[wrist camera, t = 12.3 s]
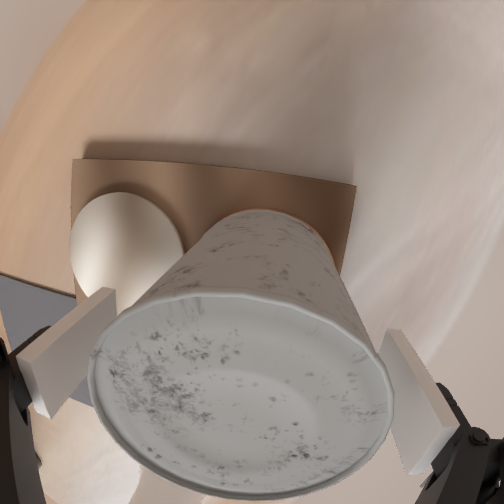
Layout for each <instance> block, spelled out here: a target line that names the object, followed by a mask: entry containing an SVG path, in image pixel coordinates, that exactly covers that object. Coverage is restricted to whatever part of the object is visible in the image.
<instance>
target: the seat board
mask: <svg viewBox="0 0 504 504" xmlns="http://www.w3.org/2000/svg"><path fill="white" fill-rule="evenodd" d="M356 187H357V186H353V185H349V184H343V183H338V182H332V181H326V180H320V179H314V178H308V177H301V176H295V175H288V174H281V173H274V172H266V171H258V170H250V169H242V168H233V167H223V166H213V165H202V164H190V163H177V162H162V161H144V160H119V159H73V164H72V183H71V235H70V243H69V252H70V260H71V265H72V269H73V272H74V283H75V293H76V301H77V306H78V305H79V304H80V303H82V302H83V301H84V300H86V299H87V298H88V297H90V296H91V295H92V294H93V293H95V292H96V291H97V290H99V289H100V288H101V287H107V288H111V289H116V306H117V316H118V315H119V314H120V313H121V312H122V311H123V310H124V309H127V308H129V307H131V306H132V305H133V304H134V303H135V302H136V301H137V300H138V299H139V298H140V297H141V296H142V295H143V294H144V293H145V292H146V291H147V290H148V289H149V288H150V287H151V286H152V285H153V284H154V283H155V282H156V281H157V280H158V279H159V278H160V277H162V276H163V275H164V274H165V273H166V272H167V271H168V270H169V269H170V268H171V267H172V266H173V265H174V264H175V263H176V262H177V261H178V260H179V259H180V258H181V257H182V256H183V255H185V254H186V253H187V252H188V251H189V250H190V249H191V248H192V247H193V246H194V245H195V244H196V243H197V242H198V241H199V240H200V239H201V238H202V236H203V235H204V234H205V233H206V232H207V231H208V230H209V229H210V228H212V227H213V226H214V225H215V224H216V223H217V222H219V221H221V220H223V219H225V218H227V217H229V216H231V215H233V214H237V213H241V212H245V211H249V210H270V211H275V212H280V213H285V214H287V215H289V216H291V217H293V218H296V219H298V220H300V221H302V222H303V223H304V224H305V225H307V226H308V227H309V228H311V229H312V230H313V231H314V232H315V233H316V234H317V235H318V236H319V238H320V239H321V240H322V242H323V243H324V244H325V245H326V247H327V250H328V252H329V254H330V256H331V258H332V261H333V264H334V266H335V268H336V270H337V272H338V274H339V276H340V272H341V267H342V263H343V258H344V253H345V248H346V243H347V238H348V233H349V228H350V222H351V217H352V211H353V205H354V199H355V193H356Z"/></svg>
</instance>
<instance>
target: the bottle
mask: <svg viewBox="0 0 504 504" xmlns="http://www.w3.org/2000/svg"><path fill="white" fill-rule="evenodd" d="M139 472H140V478H139V484H138V486H137V489H136V491H135V493H134V495H133V497H132V498H131V500H130V502H129V504H201V502H202V501H203V499H204V497H205V496H206V495H203V494H200V493H197V492H194V491H191V490H188V489H185V488H183V487H180V486H177V485H175V484H173V483H171V482H169V481H167V480H165V479H163V478H161V477H159V476H157V475H155V474H154V473H152V472H151V471H149V470H148V469H146V468H145V467H143V466H142V465H141V464H140V469H139Z"/></svg>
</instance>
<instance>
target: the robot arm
mask: <svg viewBox="0 0 504 504" xmlns="http://www.w3.org/2000/svg"><path fill="white" fill-rule="evenodd" d="M116 317H117V306H116V289H111V288H107V287H101V288H100V289H99V290H97V291H96V292H95V293H93V294H92V295H91V296H90V297H88V298H87V299H86V300H84V301H83V302H82V303H80V304H79V305H78V306H77V307H75V308H74V309H73V310H71V311H70V312H69V313H68V314H66V315H65V316H64V317H63V318H61V319H60V320H59V321H58V322H56V323H55V324H54V325H53V326H50V325H49V326H47V327H44V328H42V329H39V330H38V331H37V332H36V333H34V334H33V335H32V337H29V338H28V339H27V340H26V341H24V342H23V343H22V344H21V345H20V346H18V347H17V348H16V349H15V350H13V351H12V352H11V353H10V354H9V355H8V353H7V350H6V347H5V343H4V340H3V339H2V338H0V504H46V501H45V497H44V493H43V489H42V485H41V481H40V476H39V471H38V470H39V468H40V467H41V462H40V460H39V458H38V457H37V455H36V454H35V449H34V443H33V436H32V428H31V419H30V412H29V409H28V406H29V404H30V403H31V402H33V405H34V407H35V410H36V412H37V413H39V414H41V415H43V416H45V417H47V418H49V419H52V417H53V416H54V415H55V414H56V412H57V411H58V410H59V409H60V407H61V406H62V405H63V404H64V402H65V401H66V400H67V399H68V397H69V396H70V395H71V394H72V393H73V391H74V390H75V389H76V388H77V386H78V385H79V384H80V383H81V382H82V380H83V379H84V378H85V377H86V376H87V374H88V365H89V357H90V353H91V351H92V349H93V347H94V345H95V343H96V341H97V339H98V337H99V335H100V333H101V331H102V330H103V329H104V328H105V327H107V326H108V325H109V324H110V323H111V322H112V321H113V320H114V319H115V318H116ZM378 355H379V357H380V358H381V359H382V360H383V362H384V363H385V365H386V368H387V371H388V373H389V377H390V380H391V383H392V386H393V389H394V392H395V398H394V418H393V421H392V424H391V426H390V428H391V431H392V434H393V437H394V440H395V443H396V446H397V449H398V451H399V455H400V458H401V461H402V464H403V466H404V470H405V473H406V476H410V475H416V474H422V473H424V471H425V470H426V469H427V468H428V467H429V466H430V464H431V465H432V467H433V470H434V471H433V472H432V473H431V474H430V475H429V477H428V478H427V479H426V480H425V481H424V482H423V483H422V484H421V486H420V487H423V486H424V485H425V486H424V488H423V490H422V491H421V493H420V495H419V497H418V499H417V501H416V503H415V504H504V438H503V439H502V440H501V439H490V437H489V435H488V434H487V433H486V432H485V431H484V430H482V429H480V428H477V427H471V426H470V424H469V423H468V421H467V419H466V418H465V416H464V415H463V413H462V411H461V409H460V408H459V406H457V403H456V401H455V400H454V399H453V396H452V395H451V393H450V392H449V390H448V389H447V388H446V387H445V386H443V385H442V384H441V383H435V382H434V380H433V378H432V377H431V375H430V374H429V372H428V370H427V369H426V367H425V366H424V364H423V362H422V361H421V359H420V358H419V356H418V355H417V353H416V352H415V350H414V349H413V347H412V346H411V344H410V343H409V341H408V340H407V338H406V337H405V335H404V334H403V332H402V331H401V330H398V329H387V331H386V334H385V337H384V340H383V343H382V345H381V348H380V351H379V354H378ZM500 480H501V482H500V487H499V481H500Z"/></svg>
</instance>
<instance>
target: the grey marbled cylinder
mask: <svg viewBox="0 0 504 504" xmlns="http://www.w3.org/2000/svg"><path fill="white" fill-rule="evenodd" d="M87 382H88V387H89V393H90V398H91V402H92V404H93V406H94V409H95V411H96V413H97V415H98V417H99V419H100V421H101V423H102V425H103V426H104V427H105V429H106V430H107V432H108V433H109V434H110V436H111V437H112V438H113V440H114V441H115V442H116V443H117V444H118V445H119V446H120V447H121V448H122V449H123V450H124V451H125V452H126V453H127V454H128V455H129V456H130V457H131V458H133V459H134V460H135V461H136V462H138V463H139V464H141V465H142V466H143V467H145V468H146V469H148V470H149V471H151V472H152V473H154V474H155V475H157V476H159V477H161V478H163V479H165V480H167V481H169V482H171V483H173V484H175V485H177V486H180V487H183V488H185V489H188V490H191V491H194V492H197V493H200V494H203V495H208V496H212V497H217V498H222V499H227V500H237V501H252V502H259V501H277V500H285V499H290V498H295V497H300V496H305V495H308V494H311V493H314V492H317V491H320V490H323V489H325V488H328V487H331V486H333V485H334V484H336V483H338V482H340V481H342V480H344V479H345V478H347V477H349V476H350V475H352V474H353V473H355V472H356V471H357V470H358V469H359V468H361V467H362V466H363V465H364V464H365V463H367V462H368V461H369V460H370V459H371V458H372V457H373V456H374V454H375V453H376V452H377V450H378V449H379V447H380V446H381V445H382V443H383V442H384V441H385V439H386V436H387V434H388V431H389V429H390V426H391V424H392V421H393V418H394V398H395V392H394V389H393V386H392V383H391V380H390V377H389V373H388V371H387V368H386V365H385V363H384V362H383V360H382V359H381V358H380V357H379V355H378V354H377V353H376V351H375V349H374V347H373V345H372V343H371V340H370V338H369V336H368V334H367V332H366V330H365V327H364V325H363V323H362V321H361V319H360V317H359V315H358V313H357V311H356V308H355V306H354V304H353V302H352V300H351V298H350V296H349V294H348V292H347V290H346V288H345V286H344V284H343V282H342V280H341V278H340V276H339V274H338V272H337V270H336V268H335V266H334V264H333V261H332V258H331V256H330V254H329V252H328V250H327V247H326V245H325V244H324V243H323V242H322V240H321V239H320V238H319V236H318V235H317V234H316V233H315V232H314V231H313V230H312V229H311V228H309V227H308V226H307V225H305V224H304V223H303V222H302V221H300V220H298V219H296V218H293V217H291V216H289V215H287V214H285V213H280V212H275V211H270V210H249V211H245V212H241V213H237V214H233V215H231V216H229V217H227V218H225V219H223V220H221V221H219V222H217V223H216V224H215V225H214V226H213V227H212V228H210V229H209V230H208V231H207V232H206V233H205V234H204V235H203V236H202V238H201V239H200V240H199V241H198V242H197V243H196V244H195V245H194V246H193V247H192V248H191V249H190V250H189V251H188V252H187V253H186V254H185V255H183V256H182V257H181V258H180V259H179V260H178V261H177V262H176V263H175V264H174V265H173V266H172V267H171V268H170V269H169V270H168V271H167V272H166V273H165V274H164V275H163V276H162V277H160V278H159V279H158V280H157V281H156V282H155V283H154V284H153V285H152V286H151V287H150V288H149V289H148V290H147V291H146V292H145V293H144V294H143V295H142V296H141V297H140V298H139V299H138V300H137V301H136V302H135V303H134V304H133V305H132V306H131V307H129V308H127V309H124V310H123V311H122V312H121V313H120V314H119V315H118V316H117V317H116V318H115V319H114V320H113V321H112V322H111V323H110V324H109V325H108V326H107V327H105V328H104V329H103V330H102V331H101V333H100V335H99V337H98V339H97V341H96V343H95V345H94V347H93V349H92V351H91V353H90V357H89V365H88V374H87Z"/></svg>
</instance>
